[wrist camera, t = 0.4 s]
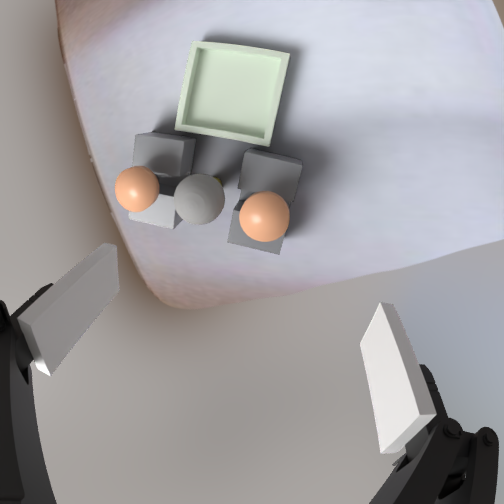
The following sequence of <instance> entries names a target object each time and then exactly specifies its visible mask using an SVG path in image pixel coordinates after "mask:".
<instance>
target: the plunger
mask: <svg viewBox="0 0 504 504" xmlns="http://www.w3.org/2000/svg"><path fill="white" fill-rule="evenodd" d="M115 193H116V197H117V199H118V201H119V203H120V204H121V205H122V206H123V207H124V208H125V209H127V210H129V211H131V212H141V211H144V210H145V209H147V208H148V207H150V206H151V205H152V204H153V203H154V202H155V201H156V200H157V198H158V195H159V176H158V175H156V174H154V173H153V172H152V171H151V170H150V169H149V168H147V167H145V166H134V167H131V168H128V169H126V170H124V171H123V172H121V173H120V174H119V176H118V177H117V180H116V183H115Z"/></svg>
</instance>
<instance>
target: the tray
mask: <svg viewBox="0 0 504 504" xmlns="http://www.w3.org/2000/svg"><path fill="white" fill-rule="evenodd" d="M289 59H290V54H289V53H285V52H280V51H274V50H269V49H263V48H257V47H250V46H243V45H235V44H226V43H215V42H202V41H192V43H191V47H190V51H189V56H188V60H187V65H186V70H185V74H184V79H183V84H182V89H181V94H180V100H179V105H178V111H177V117H176V123H175V129H174V130H178V131H185V132H192V133H198V134H205V135H211V136H217V137H222V138H228V139H233V140H238V141H243V142H248V143H253V144H258V145H262V146H267V147H269V146H270V144H271V139H272V135H273V130H274V126H275V121H276V117H277V112H278V108H279V103H280V99H281V95H282V90H283V86H284V81H285V77H286V73H287V68H288V64H289Z"/></svg>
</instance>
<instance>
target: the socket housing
mask: <svg viewBox="0 0 504 504" xmlns="http://www.w3.org/2000/svg"><path fill="white" fill-rule="evenodd" d="M195 143H196V138H191V137H185V136H178V135H171V134H163V133H155V132H149V133H143V134H137V135H135V143H134V152H133V162H132V167H134V166H145V167H147V168H149V169H150V170H151V171H152V172H153V173H154V174H156V175H158V176H159V195H158V198H157V200H156V201H155V202H154V203H153V204H152V205H151V206H150V207H148V208H147V209H145V210H144V211H141V212H131V211H129V219H131V220H135V221H140V222H144V223H148V224H152V225H157V226H161V227H165V228H169V229H174V228H175V227H176V226H177V225H178V224H179V223H180V222H181V221H182V220H183V219H182V218H181V217H180V216H179V215H178V213H177V211H176V209H175V206H174V193H175V190H176V188H177V186H178V184H179V183H180V182H181V181H182V180H183V179H185V178H186V177H188V176H190V175H191V168H192V162H193V155H194V149H195ZM302 167H303V165H302V161H301V160H299V159H295V158H291V157H287V156H282V155H278V154H274V153H270V152H265V151H261V150H256V149H251V148H250V149H249V150H247V151H246V152H245V154H244V159H243V164H242V169H241V174H240V179H239V184H238V189H241V194H240V199H239V202H238V203H237V205H236V206H235V208H234V210H233V215H232V220H231V225H230V231H229V236H228V243H232V244H237V245H241V246H245V247H249V248H253V249H258V250H262V251H266V252H270V253H274V254H278V255H279V254H280V250H281V247H282V243H283V239H284V235H285V233H284V234H283V235H282V236H281V237H279V238H278V239H276V240H273V241H269V242H261V241H257V240H254V239H252V238H251V237H249V236H248V235H247V234H246V233H245V232H244V231H243V229H242V227H241V225H240V220H239V215H240V210H241V208H242V206H243V204H244V202H245V201H246V199H247V198H248V197H249V196H251V195H252V194H254V193H256V192H259V191H271V192H274V193H276V194H278V195H280V196H281V197H282V198H283V199H284V200H285V202H286V203H287V205H288V208H289V207H290V203H291V201H293V202H294V198H295V194H296V190H297V186H298V182H299V178H300V174H301V170H302ZM285 232H286V231H285Z"/></svg>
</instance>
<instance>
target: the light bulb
mask: <svg viewBox="0 0 504 504" xmlns="http://www.w3.org/2000/svg"><path fill="white" fill-rule="evenodd" d="M224 202H225V195H224V190H223V188H222V183H221V181H220V179H219V178H217V177H212V176H210V175H206V174H193V175H190V176H188V177H186V178H185V179H183V180H182V181H181V182H180V183H179V184H178V186H177V188H176V190H175V193H174V206H175V209H176V211H177V213H178V215H179V216H180V217H181V218H182V219H183V220H185V221H186V222H188V223H191V224H195V225H202V224H207V223H210V222H212V221H213V220H215V219H216V218H217V217H218V215H219V214H220V213H221V211H222V209H223V207H224Z"/></svg>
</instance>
